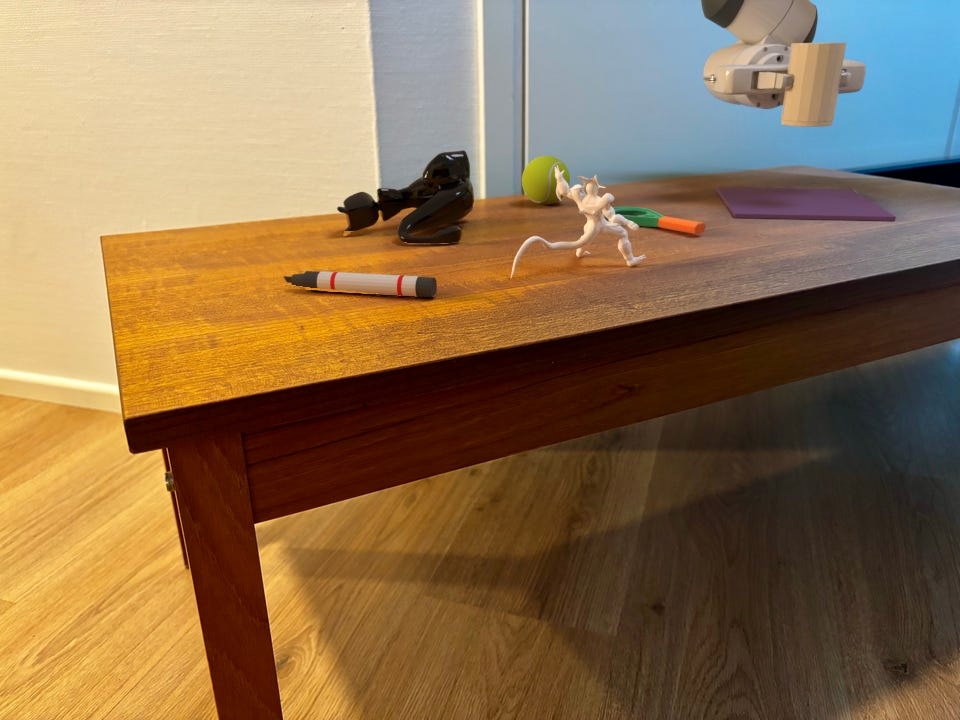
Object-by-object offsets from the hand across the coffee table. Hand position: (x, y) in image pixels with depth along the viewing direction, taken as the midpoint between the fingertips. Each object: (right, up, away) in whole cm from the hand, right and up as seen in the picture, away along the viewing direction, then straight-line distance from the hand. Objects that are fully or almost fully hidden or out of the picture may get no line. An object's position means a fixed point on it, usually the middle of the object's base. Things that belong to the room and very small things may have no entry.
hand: (817, 80), depth 95 cm
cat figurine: (-52, -21, -3) cm, 56 cm away
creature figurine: (-33, -27, -18) cm, 46 cm away
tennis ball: (-34, -13, +14) cm, 39 cm away
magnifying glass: (-22, -19, 0) cm, 29 cm away
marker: (-56, -30, -25) cm, 68 cm away
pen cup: (0, -5, +3) cm, 6 cm away
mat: (+2, -14, +11) cm, 17 cm away
